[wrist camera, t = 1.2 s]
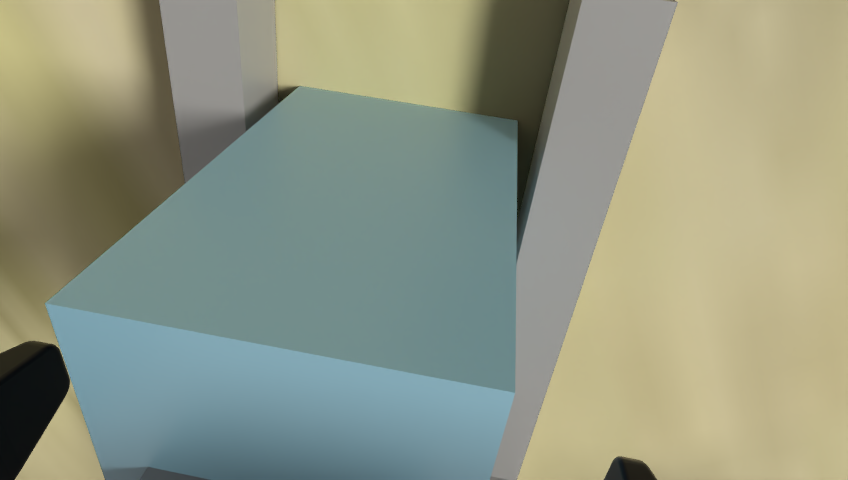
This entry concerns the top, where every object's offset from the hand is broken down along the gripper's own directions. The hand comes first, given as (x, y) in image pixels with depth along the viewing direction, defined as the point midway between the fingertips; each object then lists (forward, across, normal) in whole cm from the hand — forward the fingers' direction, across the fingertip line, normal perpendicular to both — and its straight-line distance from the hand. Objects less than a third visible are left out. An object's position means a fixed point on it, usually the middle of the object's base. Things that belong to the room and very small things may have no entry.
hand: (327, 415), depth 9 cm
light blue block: (+6, 0, 0) cm, 6 cm away
